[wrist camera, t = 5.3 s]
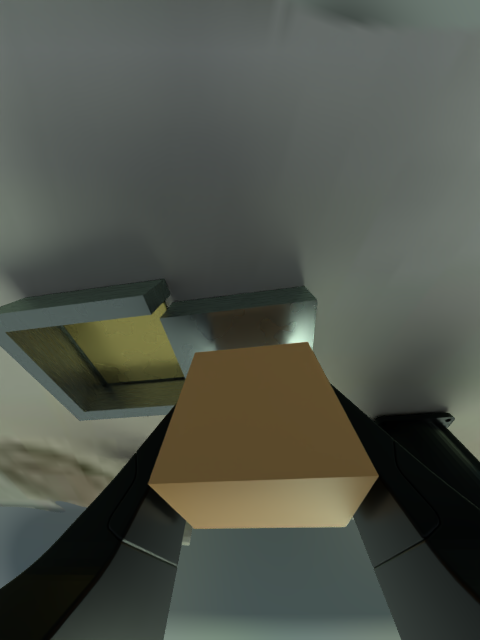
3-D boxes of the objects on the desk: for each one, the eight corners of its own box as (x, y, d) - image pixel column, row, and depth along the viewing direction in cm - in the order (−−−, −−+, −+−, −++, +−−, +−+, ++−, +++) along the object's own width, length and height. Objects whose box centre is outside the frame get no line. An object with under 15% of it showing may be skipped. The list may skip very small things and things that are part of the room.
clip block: (307, 341, 7) (378, 476, 4) (303, 399, 9) (345, 526, 6) (194, 352, 8) (148, 484, 4) (213, 406, 10) (194, 528, 6)
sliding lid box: (305, 259, 9) (324, 271, 7) (299, 375, 14) (310, 404, 12) (25, 297, 11) (-30, 317, 9) (102, 391, 15) (79, 420, 13)
